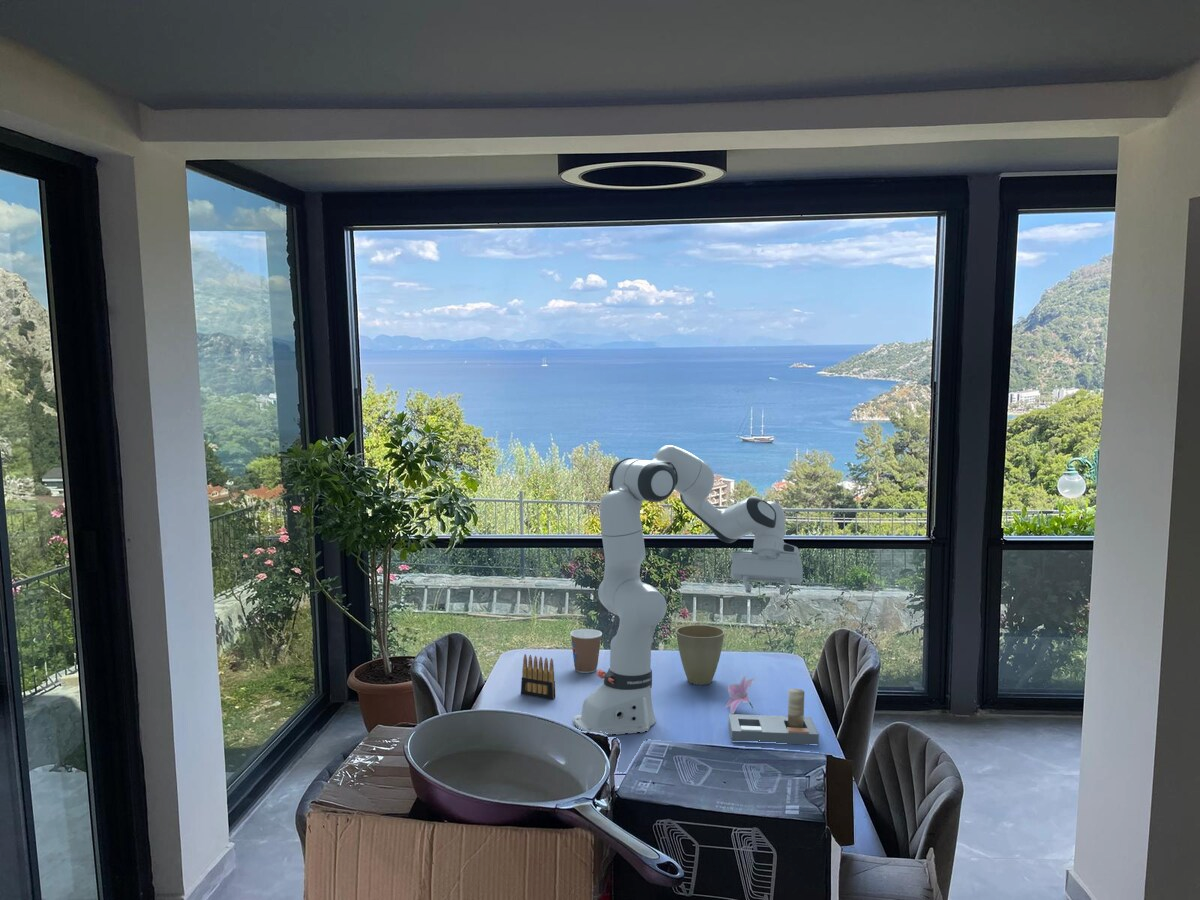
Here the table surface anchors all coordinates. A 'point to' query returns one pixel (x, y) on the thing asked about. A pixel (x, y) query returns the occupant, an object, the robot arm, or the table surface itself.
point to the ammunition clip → (538, 678)
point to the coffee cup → (586, 649)
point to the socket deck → (771, 729)
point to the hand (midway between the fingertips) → (765, 592)
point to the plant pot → (700, 651)
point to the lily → (738, 693)
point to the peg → (796, 708)
